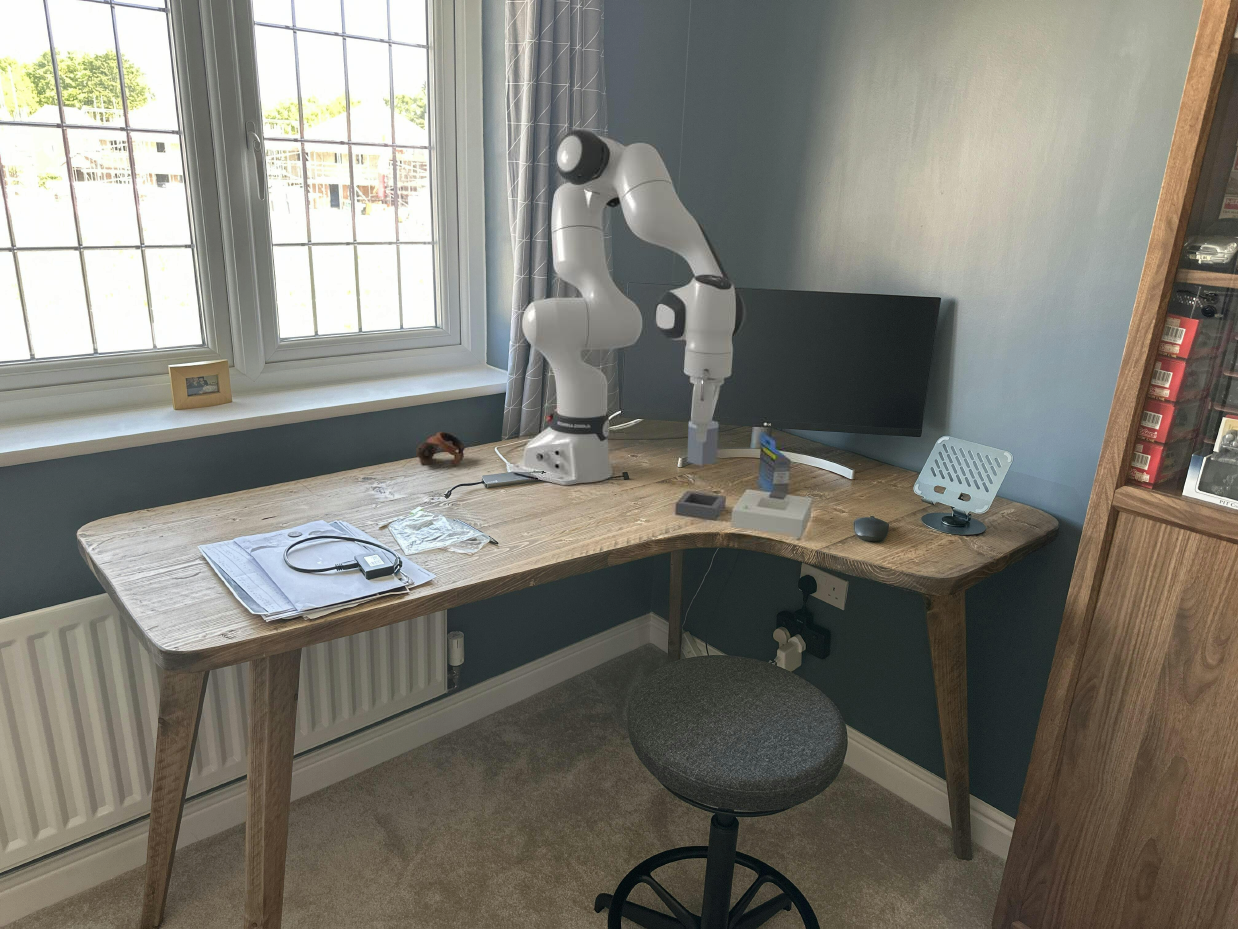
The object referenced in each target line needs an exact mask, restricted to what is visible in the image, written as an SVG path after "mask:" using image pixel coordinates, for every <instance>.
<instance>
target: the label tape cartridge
mask: <svg viewBox="0 0 1238 929" xmlns="http://www.w3.org/2000/svg"><path fill="white" fill-rule="evenodd" d="M760 432H761V434H760V435H761V436H760V437H761V438H760V452H759V454H760V455H759V465H758V478H757V479H758V480H757V486H758V487H760V488H762V489H763V490H764V491H765V492H770V493H771V492H772V491H776V492H783V493H786V495H789V494H788V493H789V492H788V491H789V480H790V470H791V462H792V461H791V459H790V458H789V457H788V456H786V455H785V454H784V453H782V452H781V451H780V450H778V449H777V448H776V441H775V440H774V439H773V438H772V437H770V436H769V435H768V434H766V433H765V432H764V431H760ZM767 442H768V443H767Z"/></svg>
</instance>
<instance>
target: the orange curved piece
mask: <svg viewBox="0 0 1238 929" xmlns="http://www.w3.org/2000/svg"><path fill="white" fill-rule="evenodd" d="M449 442H451V443H452V444H450V443H449ZM438 449H439V450H442V451H444V452H445V453H448V454H449V455H452V456H454V460H453V462H452V466H454V467H458V466H457V465H459V464H460V463H461V462H462V461H463V459H464V451H465V449H466V446H465V444H464V443H463V442H462V441H461V440H460V439H459V438H458V437H457V436H455V435H453V434H451V433H449V432H446V431H438V432H436V435H434V436H431V437H430V438H428V439H427V440H426V441H425V442H422V443H421V444H420V445H419V446H418V447H417V449H416V455H417V457H418V459H419V464H420V463H421V464H423V465H424V464H425V465H431V464H432V461H433V457H434V456H435V454H436V453H437V450H438ZM421 464H420V465H421Z"/></svg>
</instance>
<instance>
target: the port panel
mask: <svg viewBox="0 0 1238 929" xmlns="http://www.w3.org/2000/svg"><path fill="white" fill-rule="evenodd" d="M812 507H813V497H806V496H799V495H793V494H792V495H790V494H788V495H786V493H783V492H776V491H772V492H771V493H770V492H767V491H762V490H755V489H746V490H745V491H744V493H743V494H742V496H740V498H739V499H738V501H737V502H736V504H735V505H734V507H733V508H732V509H731V520H730V521H731V522H730V528H735V529H741V530H747V531H754V532H762V533H768V534H774V535H780V536H781V535H782V536H788V537H793V538H796V540H797V541H801V540H802V538H803V535H804V534H805V531H806V530H807V529H806V528H807V526H808V524H809V522H810V519H811V517H812Z"/></svg>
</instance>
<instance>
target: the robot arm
mask: <svg viewBox="0 0 1238 929" xmlns="http://www.w3.org/2000/svg"><path fill="white" fill-rule="evenodd" d="M554 154H555V155H554V164H555V168H556V170H557V172H558V174H559V176H561V177H562V178H563V179H564V180H565V181H567V182H566V183H564V184H562V185H560V186H559V187H558V188H557V189H556V190H555V192H554V194H553V200H552V208H551V219H550V220H551V222H550V223H551V245H552V246H551V247H552V260H553V262H552V263H553V264H552V265H553V269H554V271H555V273H556V274H557V276H558V277H560V279H561V280H562V281H565V282H566V283H568V284H570V285H572V286H574V287H575V288H577V290H578V291H579V292H580V294H581V296H582V297H549V298H544V299H539V300H536V301H532V302H530V304H529V305H528V306H527V307H526V309H525V310H524V313H523V316H522V319H521V320H522V321H521V327H522V328H521V329H522V332H523V334H524V337H525V339H526V340H527V342H528V344H530V345H531V346H532V347H533V348H534V349H536V350H537V351H538V352H540V354H541V355H543V357H544V358H545V360H546V361H547V362H548V364H549V366H550V368H551V370H552V372H553V375H554V376H553V377H554V380H555V381H554V382H555V389H556V408H555V409H554V411H553V412H551V413H549V415H547V416H546V417H545V418H546V420H545V421H546V422H549V426H548V427H547V428H545V429H544V430H543V431H541V432H539V434H537V435H536V436H535V437H534V438H532V439H531V440H529V441H528V442H527V444H526V445H525V448H524V451H523V456H522V457H523V458H522V459H521V460H518V461H517V462H516V463H515V464H514V465H513V467H512V473H513V472H533V471H534V470H535V471H544V472H546V473H543V474H541V473H531V474H533V475H535V476H536V477H537V478H538V479H537V480H541V481H544V482H549V483H553V484H558V485H562V486H572V485H576V484H583V483H584V484H585V483H586V484H587V483H593V482H595V483H596V482H600V481H604V480H607V479H609V478H611V477H612V476H613V474H614V471H613V468H612V464H611V460H610V458H611V457H610V454H609V453H610V451H609V442H608V438H609V432H610V415H609V412H608V385H609V384H608V380H607V377H606V375H605V373H604V372H602V370H600V369H598V368H597V367H595V366H593V365H591V364H588V362H587V363H586V362H585V361H583V360H582V357H581V351H584V350H616V349H620V348H625V347H629V346H632V345H634V344H635V343H636V342H637V340H638V339H639V338H640V335H641V333H642V330H643V318H642V314H641V313H642V312H641V311H640V309H639V307H638V306H637V305H636V303H635V302H634V301H632V300H631V299H629V298H628V297H627V296H625V295H624V294H623V293H622V292H621V291H620V289H619V288H618V287H617V286H616V284H615V283H614V281H613V279H612V277H611V275H610V272H609V270H608V265H607V259H606V252H605V242H604V229H603V211H604V208H605V206H608V207H610V208H615V207H618V206H619V205H620V206H621V209H622V213H623V216H624V219H625V222H626V223H627V226H628V227H629V229H630V230H631V232H632V233H633V234H634V235H635V236H637V237H638V238H639V239H641V240H642V241H645V242H647V243H649V244H653V245H656V246H659V247H662V248H666V249H668V250H670V251H672V252H674V253H676V254H678V255H679V256H681V257H682V258H683V259H684V260H685V261H686V263H687V264H688V265H689V267H690V269H691V271H692V273H693V275H694V277H693V278H692V279H691V281H690V282H689V283H688V284H686V285H684V286H681V287H678V288H675V289H672V290H667V291H665V292H664V293H662V294H661V295H660V297H659V299H658V300H657V302H656V304H655V309H654V323H655V327H656V328H657V330H658V332H659V333H660V334H661V335H662V336H663V337H665V338H666V339H669V340H674V341H684V340H685V342H686V345H685V348H684V363H683V364H684V365H683V372H684V374H685V375H687V376H688V377H690V378H689V382H690V383H691V384H693V389H692V397H691V398H692V401H691V411H690V412H691V414H690V421H691V423H692V424H694V425H696V427H697V441H698V442H706V439H707V429H708V426H709V425H710V424H711V421H713V416H714V414H715V413H714V412H715V409H716V405H717V402H718V399H719V396H720V390H721V386H722V385H724V384H725V378H729V377H730V376H731V375H732V368H733V366H732V365H733V355H734V354H733V353H734V348H733V341H732V338H733V337H735V335H737V333H739V332H740V330H741V328H742V327H743V325H744V323H745V320H746V316H747V315H746V314H747V311H746V306H745V302H744V300H743V298H742V296H741V294H740V292H738V290H737V289H736V287H735V286H734V284H733V282H732V281H731V280H730V279H729V276H728V274H727V273H726V271H725V267H723V264H722V262H721V261H720V258H719V256H718V254H717V252H716V250H715V249H714V246H713V244H712V242H711V240H710V238H709V236H708V234H707V232H706V231H705V229H704V227H703V225H702V224H701V222H700V221H698V220H697V219H696V218H695V217H694V216H693V215H692V214H690V212H689V211H688V210H687V209H686V207H685V206H684V205H683V202H681V200H680V198H679V197H678V194H677V193H676V190H675V187H674V183H673V181H672V178H671V176H670V173H669V171H668V169H667V167H666V165H665V162H664V161H663V158H662V157H661V155H660V153H659V152H658V151H657V149H656V148H655V147H653V145H651V144H648V143H645V142H636V143H632V144H629V145H627V146H625V145H624V144H621V143H620V142H617V141H616V140H614V139H611V138H608V137H607V138H606V137H604V136H601V135H598V134H595V133H593V132H592V131H588V130H584V129H583V130H581V129H580V130H579V129H577V130H576V129H575V130H571V131H569V132H567V133H565V135H564V136H563V137H562V138H561V139H560V141H559V142H558V145H557V147H556V150H555V153H554Z"/></svg>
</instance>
